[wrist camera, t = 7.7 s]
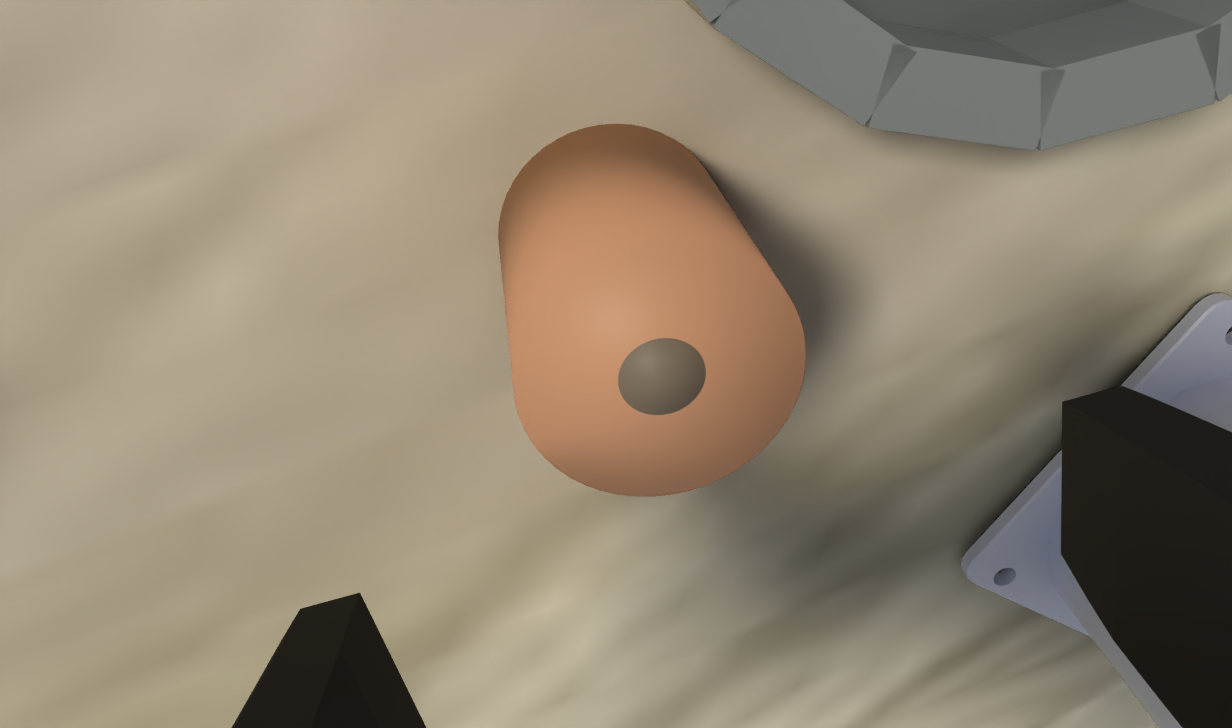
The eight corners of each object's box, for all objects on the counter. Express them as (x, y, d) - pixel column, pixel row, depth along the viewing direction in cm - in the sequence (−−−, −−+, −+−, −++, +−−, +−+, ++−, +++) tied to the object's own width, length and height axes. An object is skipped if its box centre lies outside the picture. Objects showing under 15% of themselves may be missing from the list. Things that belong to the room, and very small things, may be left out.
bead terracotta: (765, 193, 18) (864, 323, 14) (644, 366, 19) (699, 534, 15) (573, 79, 16) (616, 183, 12) (457, 276, 18) (459, 432, 14)
